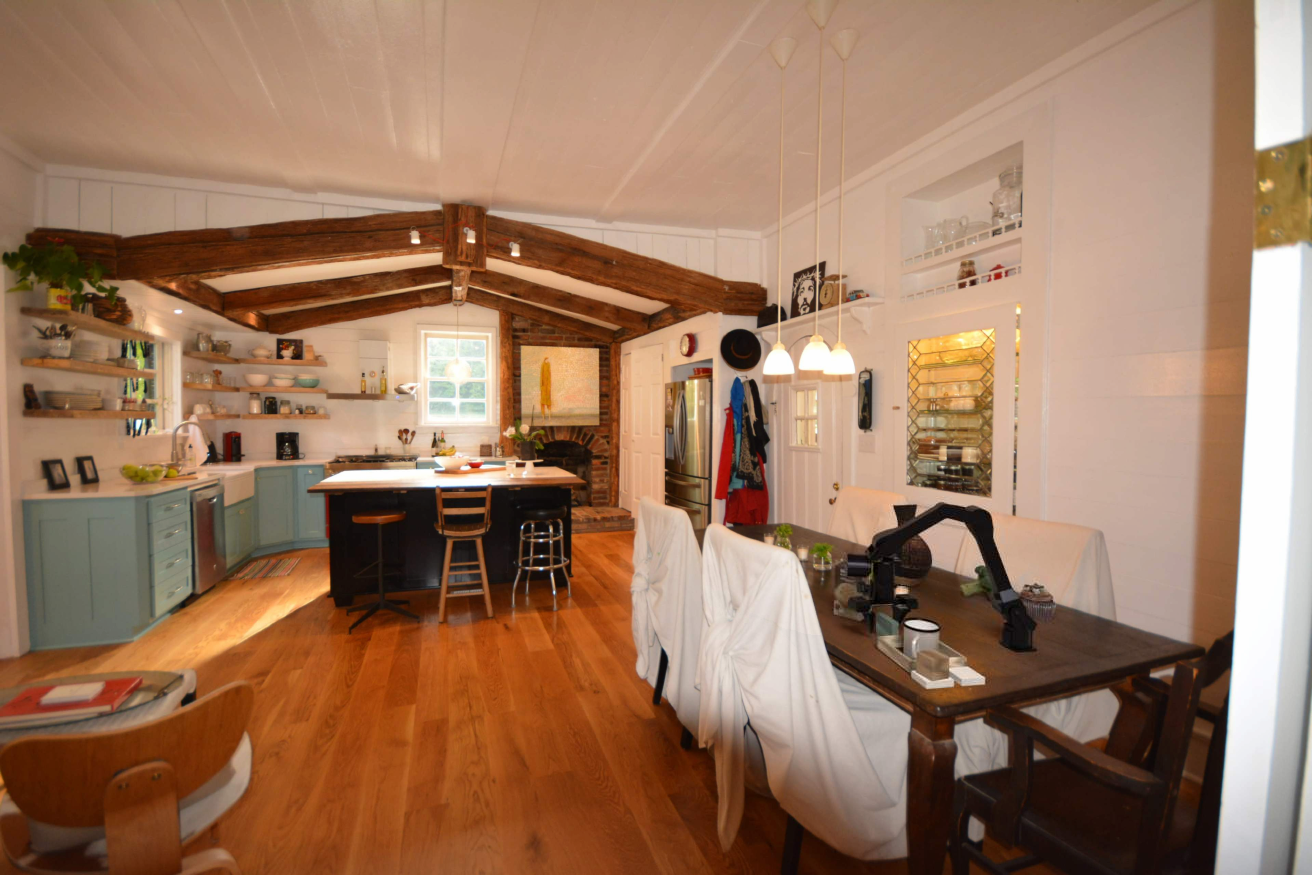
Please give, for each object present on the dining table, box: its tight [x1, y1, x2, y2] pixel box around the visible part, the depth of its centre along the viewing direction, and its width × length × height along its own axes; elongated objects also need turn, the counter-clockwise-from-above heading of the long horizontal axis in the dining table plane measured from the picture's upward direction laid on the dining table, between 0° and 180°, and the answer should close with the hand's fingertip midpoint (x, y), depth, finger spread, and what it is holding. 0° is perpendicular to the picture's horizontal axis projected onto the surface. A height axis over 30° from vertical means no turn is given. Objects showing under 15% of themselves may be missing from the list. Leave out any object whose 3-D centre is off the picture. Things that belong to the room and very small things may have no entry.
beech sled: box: [875, 611, 968, 675], centre depth 154 cm, size 15×24×6 cm, turn 9°
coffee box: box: [833, 560, 870, 622], centre depth 182 cm, size 9×6×16 cm
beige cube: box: [916, 649, 949, 681], centre depth 138 cm, size 5×5×5 cm
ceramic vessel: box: [890, 503, 933, 587], centre depth 215 cm, size 21×18×30 cm
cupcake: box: [1019, 582, 1057, 622], centre depth 181 cm, size 10×10×10 cm
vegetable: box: [959, 564, 993, 601], centre depth 198 cm, size 12×13×15 cm
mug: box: [901, 616, 942, 660], centre depth 150 cm, size 12×10×9 cm
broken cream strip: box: [910, 666, 986, 690], centre depth 138 cm, size 15×6×2 cm, turn 99°
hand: (882, 632), depth 164 cm, fingers open, 7 cm apart
